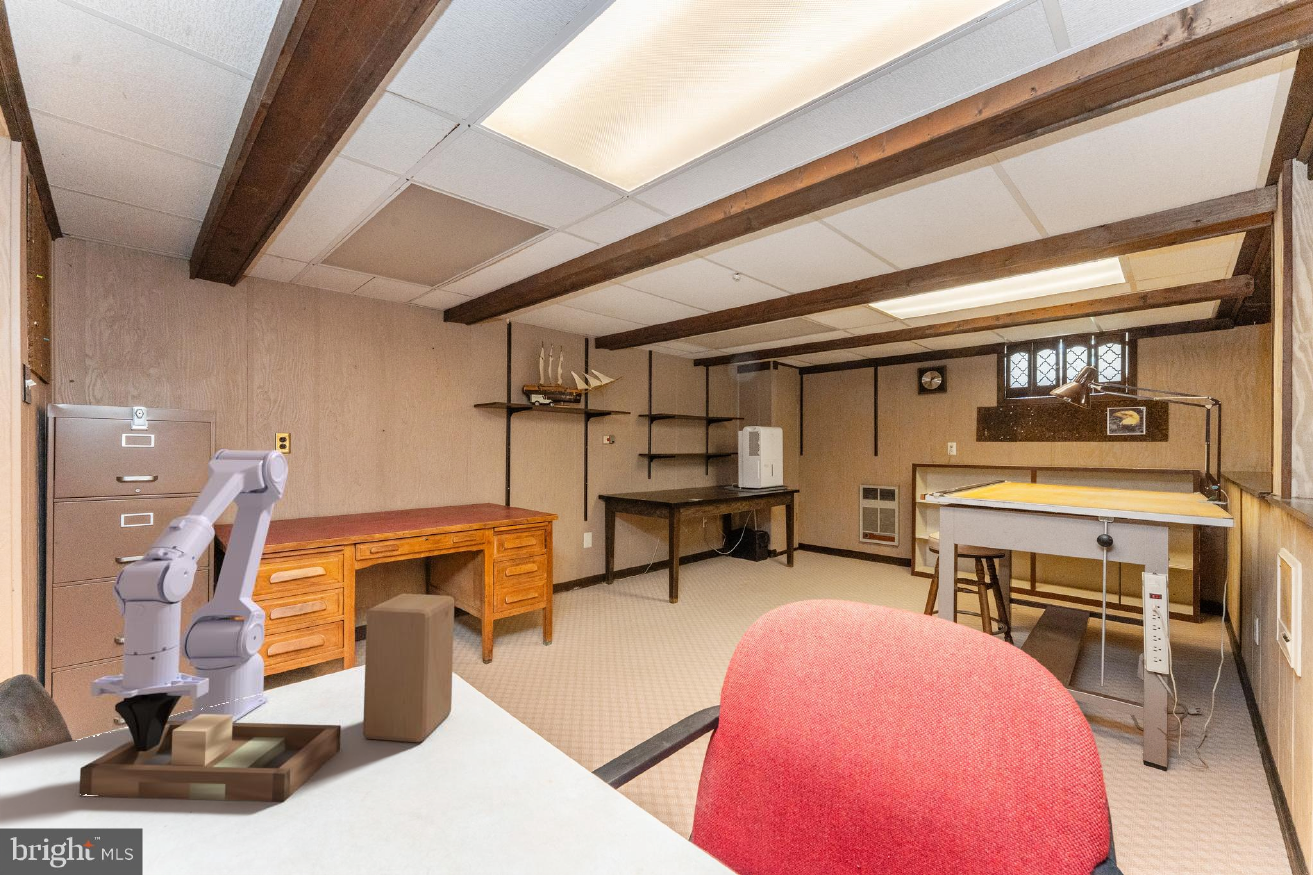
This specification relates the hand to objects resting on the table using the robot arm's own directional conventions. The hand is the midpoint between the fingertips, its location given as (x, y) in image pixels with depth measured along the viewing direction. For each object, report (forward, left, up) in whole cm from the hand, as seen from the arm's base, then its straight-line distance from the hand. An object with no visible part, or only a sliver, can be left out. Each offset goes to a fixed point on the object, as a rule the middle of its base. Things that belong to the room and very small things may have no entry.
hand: (148, 747), depth 75 cm
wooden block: (-13, +30, -3) cm, 33 cm away
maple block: (0, +7, -1) cm, 8 cm away
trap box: (0, +10, -3) cm, 10 cm away
